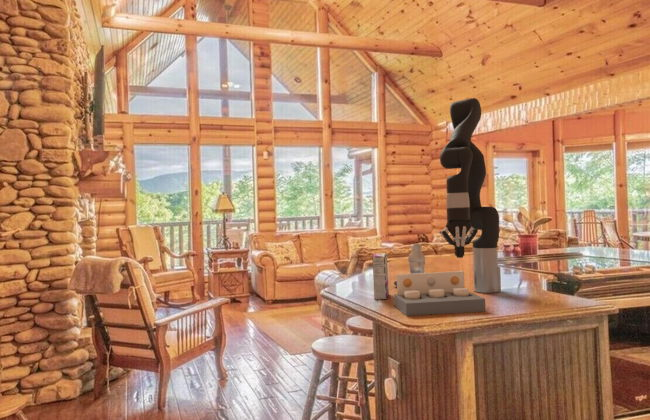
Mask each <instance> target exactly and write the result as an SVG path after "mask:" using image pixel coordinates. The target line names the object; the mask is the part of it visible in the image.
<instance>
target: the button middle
mask: <svg viewBox="0 0 650 420" xmlns="http://www.w3.org/2000/svg"><path fill="white" fill-rule="evenodd" d="M429 297H430V298H442V297H444V290H443V289H430V290H429Z"/></svg>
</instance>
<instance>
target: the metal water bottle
mask: <svg viewBox="0 0 650 420" xmlns="http://www.w3.org/2000/svg"><path fill="white" fill-rule="evenodd" d="M410 249H411V252H410V253H409V255H408V258H407V261H408V267H409V274H416V273H425V268H426V267H425V265H426V257H425V254H424V253H423V251H422V244H419V243H414V244H413V243H412V244H411V246H410Z"/></svg>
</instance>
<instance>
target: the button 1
mask: <svg viewBox="0 0 650 420" xmlns="http://www.w3.org/2000/svg"><path fill="white" fill-rule="evenodd" d="M404 294H405V299H420V291H417V290H407V291H404Z"/></svg>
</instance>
